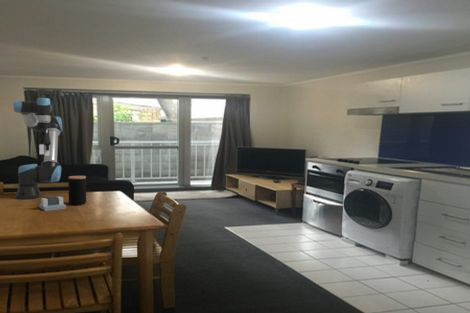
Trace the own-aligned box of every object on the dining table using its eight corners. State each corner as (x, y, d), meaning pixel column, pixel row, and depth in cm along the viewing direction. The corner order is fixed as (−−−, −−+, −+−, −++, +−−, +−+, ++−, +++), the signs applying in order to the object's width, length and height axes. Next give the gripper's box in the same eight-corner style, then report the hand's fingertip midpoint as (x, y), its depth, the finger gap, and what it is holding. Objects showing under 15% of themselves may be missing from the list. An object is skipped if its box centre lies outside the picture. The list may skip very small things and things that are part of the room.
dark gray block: (46, 204, 230) (46, 196, 229) (55, 203, 233) (55, 195, 232) (48, 205, 227) (48, 197, 226) (57, 204, 230) (57, 196, 229)
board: (39, 206, 231) (38, 197, 231) (59, 204, 239) (59, 195, 239) (44, 210, 221) (44, 201, 220) (66, 208, 229) (66, 198, 228)
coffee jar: (89, 202, 247) (89, 176, 246) (81, 206, 237) (80, 178, 236) (74, 202, 248) (73, 175, 247) (65, 205, 238) (65, 177, 237)
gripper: (32, 122, 246) (33, 153, 247) (42, 121, 227) (43, 156, 229) (45, 122, 251) (45, 153, 252) (55, 122, 232) (56, 156, 234)
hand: (44, 155), depth 241 cm, fingers open, 13 cm apart
